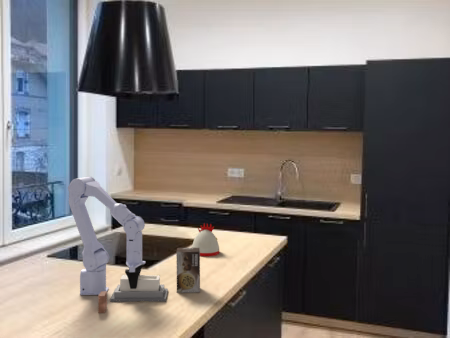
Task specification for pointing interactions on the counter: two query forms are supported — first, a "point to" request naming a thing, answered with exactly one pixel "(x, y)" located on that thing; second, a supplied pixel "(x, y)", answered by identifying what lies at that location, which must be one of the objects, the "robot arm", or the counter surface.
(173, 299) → the counter surface
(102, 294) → the terracotta flat slab
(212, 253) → the kitchen timer
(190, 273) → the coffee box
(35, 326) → the counter surface
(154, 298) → the cradle
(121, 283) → the white hollow block
